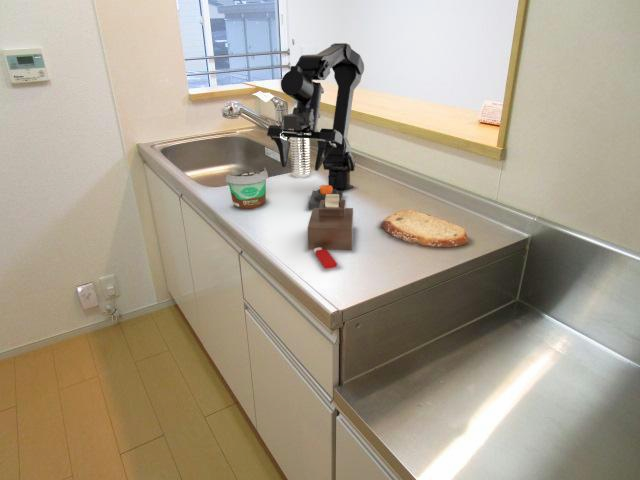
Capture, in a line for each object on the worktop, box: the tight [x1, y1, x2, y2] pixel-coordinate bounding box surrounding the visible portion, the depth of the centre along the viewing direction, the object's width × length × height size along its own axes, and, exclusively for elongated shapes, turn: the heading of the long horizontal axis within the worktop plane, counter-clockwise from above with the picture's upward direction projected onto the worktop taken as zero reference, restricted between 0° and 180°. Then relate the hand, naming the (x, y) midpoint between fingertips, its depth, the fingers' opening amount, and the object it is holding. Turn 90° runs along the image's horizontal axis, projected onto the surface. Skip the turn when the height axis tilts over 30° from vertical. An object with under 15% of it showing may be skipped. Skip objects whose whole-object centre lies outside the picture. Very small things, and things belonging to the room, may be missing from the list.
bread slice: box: [380, 209, 469, 248], centre depth 110 cm, size 18×18×4 cm
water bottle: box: [287, 99, 312, 178], centre depth 150 cm, size 7×7×25 cm
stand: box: [307, 199, 354, 251], centre depth 107 cm, size 13×10×8 cm
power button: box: [319, 184, 332, 194], centre depth 129 cm, size 4×4×2 cm
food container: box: [225, 167, 269, 211], centre depth 127 cm, size 12×6×10 cm, turn 118°
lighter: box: [313, 247, 338, 269], centre depth 99 cm, size 3×1×8 cm
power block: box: [308, 188, 344, 211], centre depth 130 cm, size 11×9×4 cm
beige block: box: [325, 194, 339, 207], centre depth 108 cm, size 3×3×2 cm
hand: (299, 169), depth 114 cm, fingers open, 9 cm apart
